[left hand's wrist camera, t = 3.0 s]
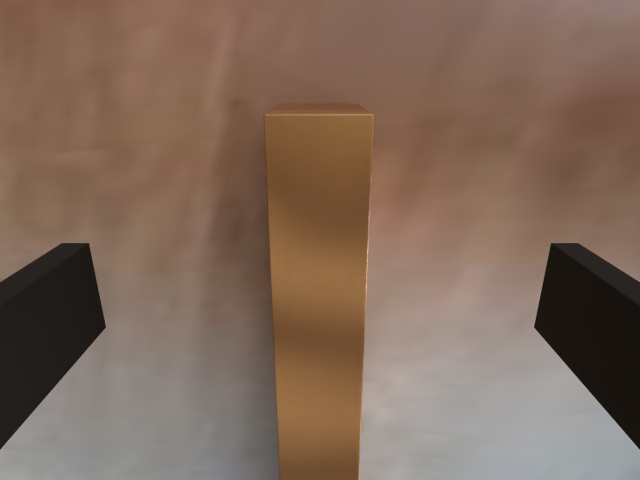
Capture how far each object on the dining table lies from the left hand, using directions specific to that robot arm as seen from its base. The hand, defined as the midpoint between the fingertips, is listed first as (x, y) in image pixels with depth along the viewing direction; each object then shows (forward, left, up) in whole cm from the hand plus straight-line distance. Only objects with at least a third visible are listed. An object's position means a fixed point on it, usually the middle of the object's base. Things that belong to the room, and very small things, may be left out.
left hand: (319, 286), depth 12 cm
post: (+11, +34, -18) cm, 40 cm away
